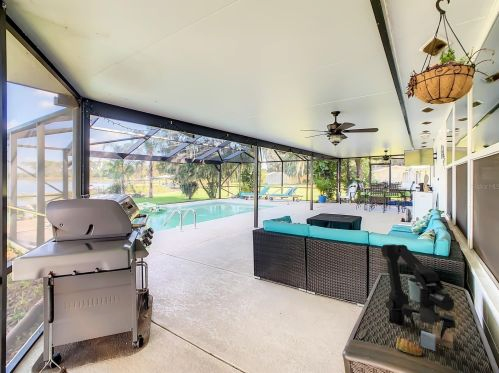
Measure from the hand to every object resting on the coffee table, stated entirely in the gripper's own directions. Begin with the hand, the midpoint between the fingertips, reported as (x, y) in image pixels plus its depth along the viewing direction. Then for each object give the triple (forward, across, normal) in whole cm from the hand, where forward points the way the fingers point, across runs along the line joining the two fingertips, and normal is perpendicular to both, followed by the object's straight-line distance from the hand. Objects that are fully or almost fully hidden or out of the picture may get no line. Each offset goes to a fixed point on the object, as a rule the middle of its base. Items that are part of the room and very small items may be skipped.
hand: (427, 334), depth 108 cm
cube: (+5, 0, 0) cm, 5 cm away
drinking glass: (+6, -7, +49) cm, 50 cm away
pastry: (+6, -7, -8) cm, 12 cm away
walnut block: (+6, +5, +7) cm, 11 cm away
